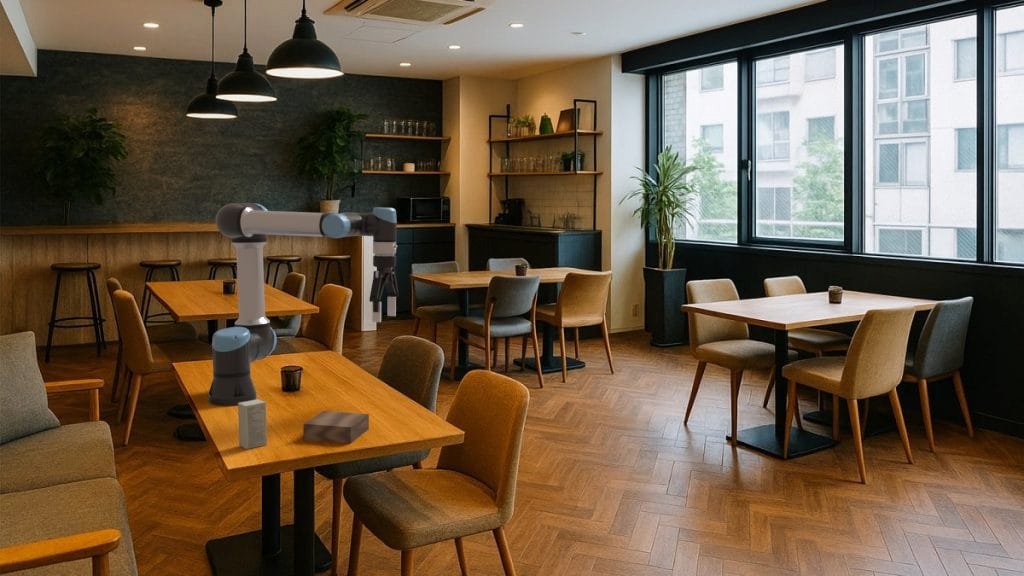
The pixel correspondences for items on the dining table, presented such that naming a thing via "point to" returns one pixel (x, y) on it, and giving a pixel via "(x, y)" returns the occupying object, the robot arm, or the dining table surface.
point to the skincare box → (252, 423)
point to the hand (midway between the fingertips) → (384, 318)
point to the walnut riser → (336, 427)
